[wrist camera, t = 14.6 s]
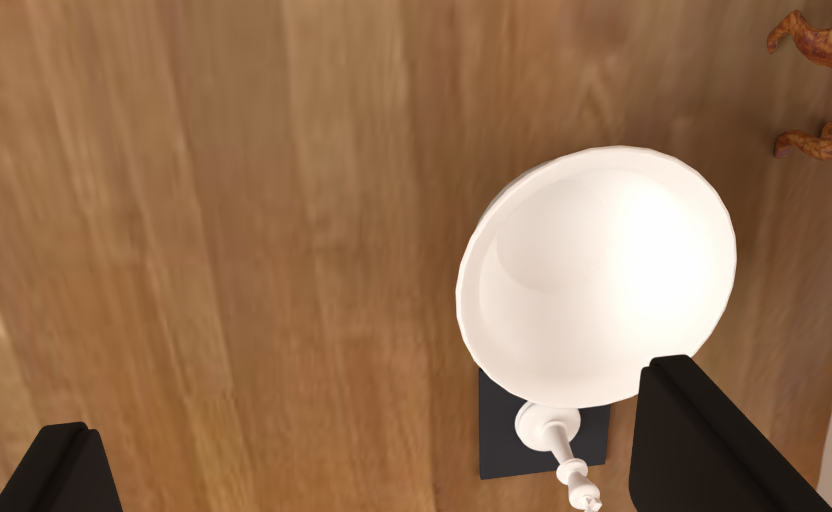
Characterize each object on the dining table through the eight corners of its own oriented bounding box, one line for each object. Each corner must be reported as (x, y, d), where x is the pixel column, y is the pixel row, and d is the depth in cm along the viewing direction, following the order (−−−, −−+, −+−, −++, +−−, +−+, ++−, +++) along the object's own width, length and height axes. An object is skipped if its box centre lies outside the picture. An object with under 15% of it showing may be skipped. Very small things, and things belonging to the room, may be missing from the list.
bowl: (562, 372, 48) (607, 449, 41) (385, 266, 43) (398, 331, 35) (712, 200, 44) (795, 249, 37) (536, 60, 39) (589, 83, 31)
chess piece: (590, 402, 49) (649, 499, 40) (559, 452, 51) (610, 557, 42) (532, 385, 48) (581, 481, 39) (503, 437, 50) (543, 542, 40)
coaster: (479, 475, 51) (480, 480, 51) (478, 367, 47) (480, 371, 47) (602, 460, 52) (605, 464, 52) (612, 353, 48) (614, 356, 48)
